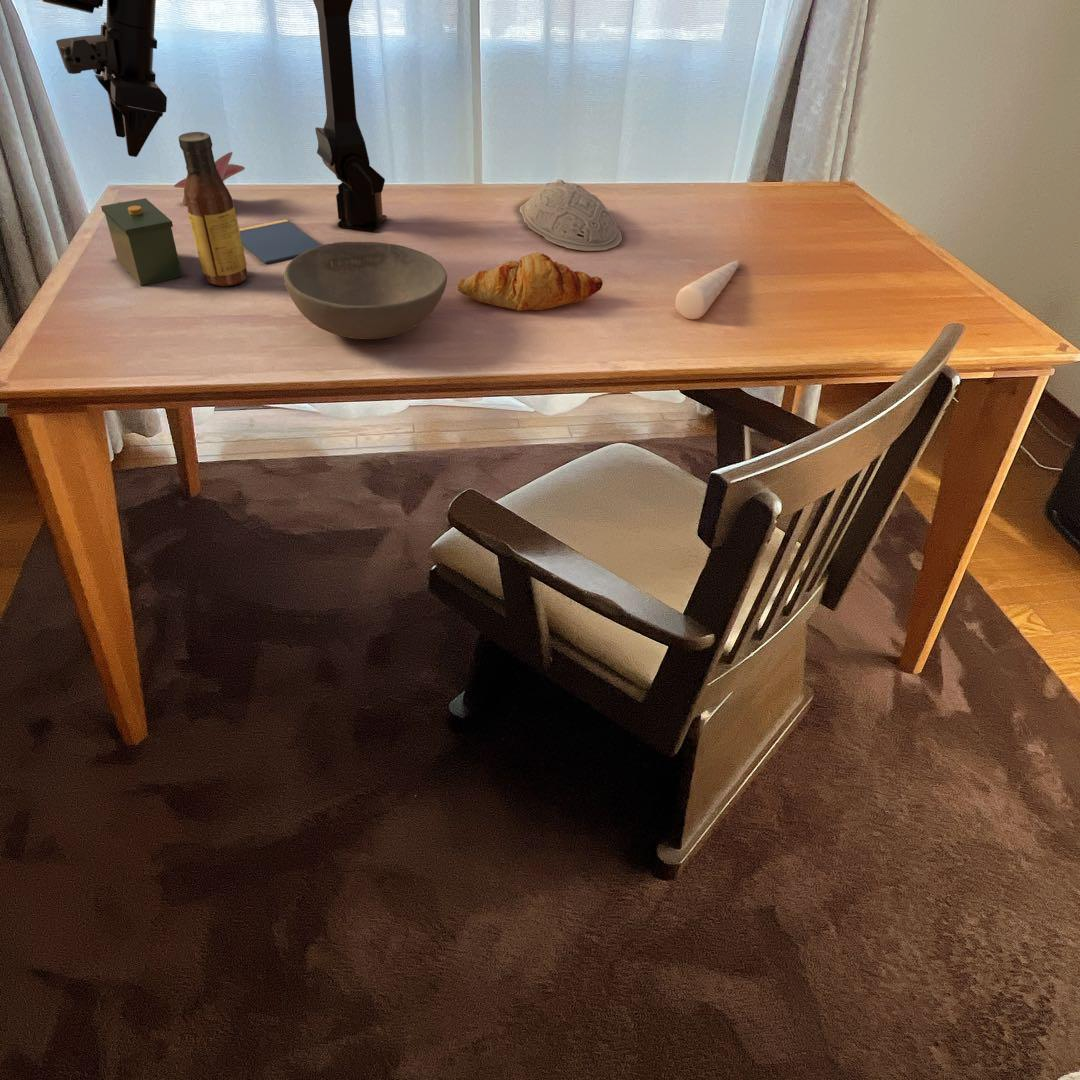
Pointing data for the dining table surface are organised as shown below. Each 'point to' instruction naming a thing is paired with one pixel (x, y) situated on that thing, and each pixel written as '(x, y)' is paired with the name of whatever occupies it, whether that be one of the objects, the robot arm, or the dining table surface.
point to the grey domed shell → (571, 217)
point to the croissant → (530, 284)
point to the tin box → (143, 240)
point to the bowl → (365, 288)
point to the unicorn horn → (703, 291)
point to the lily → (219, 170)
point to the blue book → (276, 241)
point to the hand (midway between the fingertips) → (126, 146)
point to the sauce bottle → (212, 214)
